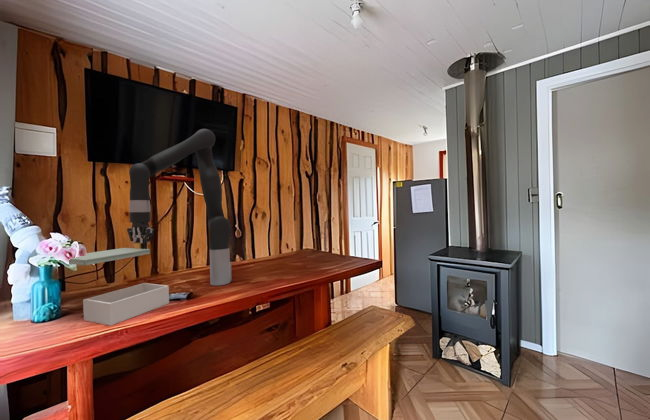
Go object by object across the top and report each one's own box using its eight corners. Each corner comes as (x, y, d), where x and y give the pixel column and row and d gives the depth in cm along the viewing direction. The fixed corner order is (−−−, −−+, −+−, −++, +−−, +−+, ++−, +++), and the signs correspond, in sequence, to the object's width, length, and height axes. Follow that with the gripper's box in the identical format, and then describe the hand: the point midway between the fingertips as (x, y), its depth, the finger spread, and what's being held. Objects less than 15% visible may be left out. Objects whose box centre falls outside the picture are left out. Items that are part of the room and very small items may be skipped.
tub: (144, 299, 113) (143, 282, 113) (169, 303, 108) (168, 285, 108) (83, 320, 93) (83, 299, 93) (110, 325, 88) (109, 303, 88)
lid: (132, 250, 121) (132, 241, 121) (158, 252, 116) (158, 242, 116) (56, 262, 96) (56, 251, 96) (85, 265, 91) (84, 253, 91)
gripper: (160, 210, 118) (160, 251, 118) (137, 211, 122) (138, 249, 123) (143, 211, 110) (144, 253, 111) (119, 211, 115) (120, 252, 115)
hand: (140, 251), depth 117 cm, fingers closed on lid, 3 cm apart
